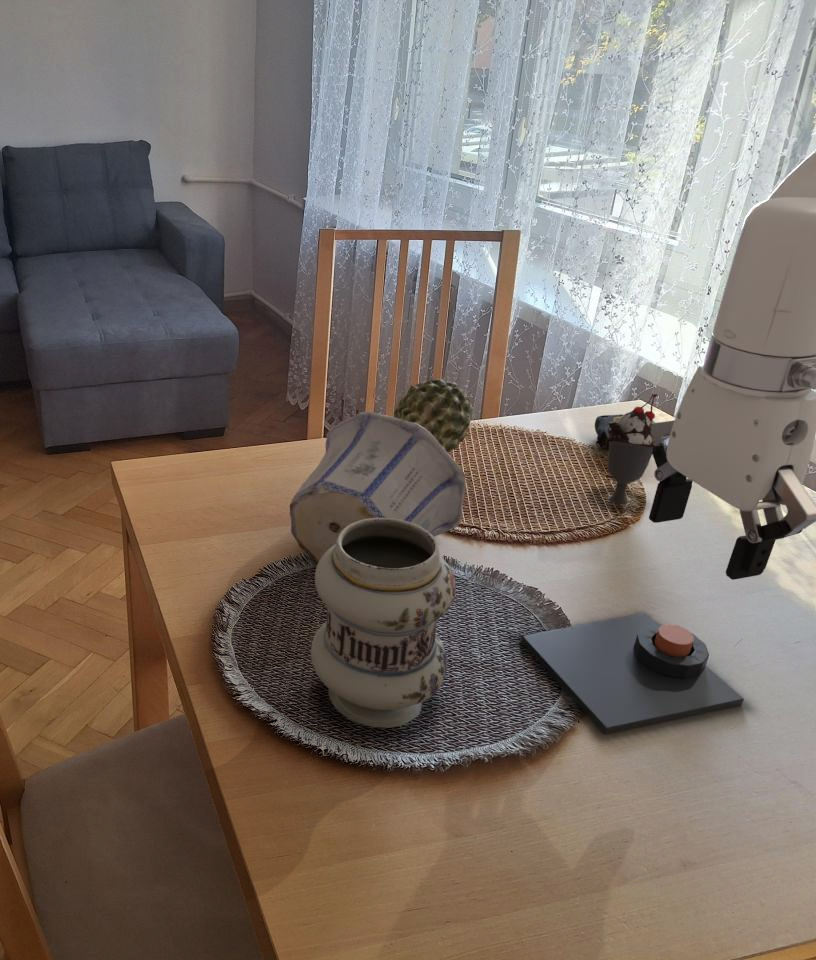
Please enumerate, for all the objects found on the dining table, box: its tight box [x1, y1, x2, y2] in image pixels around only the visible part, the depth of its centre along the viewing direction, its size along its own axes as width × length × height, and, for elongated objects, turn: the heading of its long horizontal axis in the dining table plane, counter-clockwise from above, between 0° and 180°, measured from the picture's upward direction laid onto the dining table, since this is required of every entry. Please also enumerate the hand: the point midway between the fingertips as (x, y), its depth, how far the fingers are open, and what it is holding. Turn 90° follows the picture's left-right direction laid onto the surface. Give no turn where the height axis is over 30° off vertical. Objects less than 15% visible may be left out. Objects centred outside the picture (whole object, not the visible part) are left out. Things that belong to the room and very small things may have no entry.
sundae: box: [605, 393, 658, 505], centre depth 106 cm, size 7×7×15 cm
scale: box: [520, 612, 745, 736], centre depth 81 cm, size 14×13×3 cm
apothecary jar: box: [310, 518, 457, 729], centre depth 76 cm, size 12×12×18 cm
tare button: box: [654, 623, 694, 657], centre depth 81 cm, size 3×3×2 cm
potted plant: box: [289, 378, 473, 564], centre depth 102 cm, size 18×18×30 cm
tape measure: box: [594, 414, 624, 450], centre depth 123 cm, size 7×7×4 cm
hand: (702, 545), depth 76 cm, fingers open, 8 cm apart
